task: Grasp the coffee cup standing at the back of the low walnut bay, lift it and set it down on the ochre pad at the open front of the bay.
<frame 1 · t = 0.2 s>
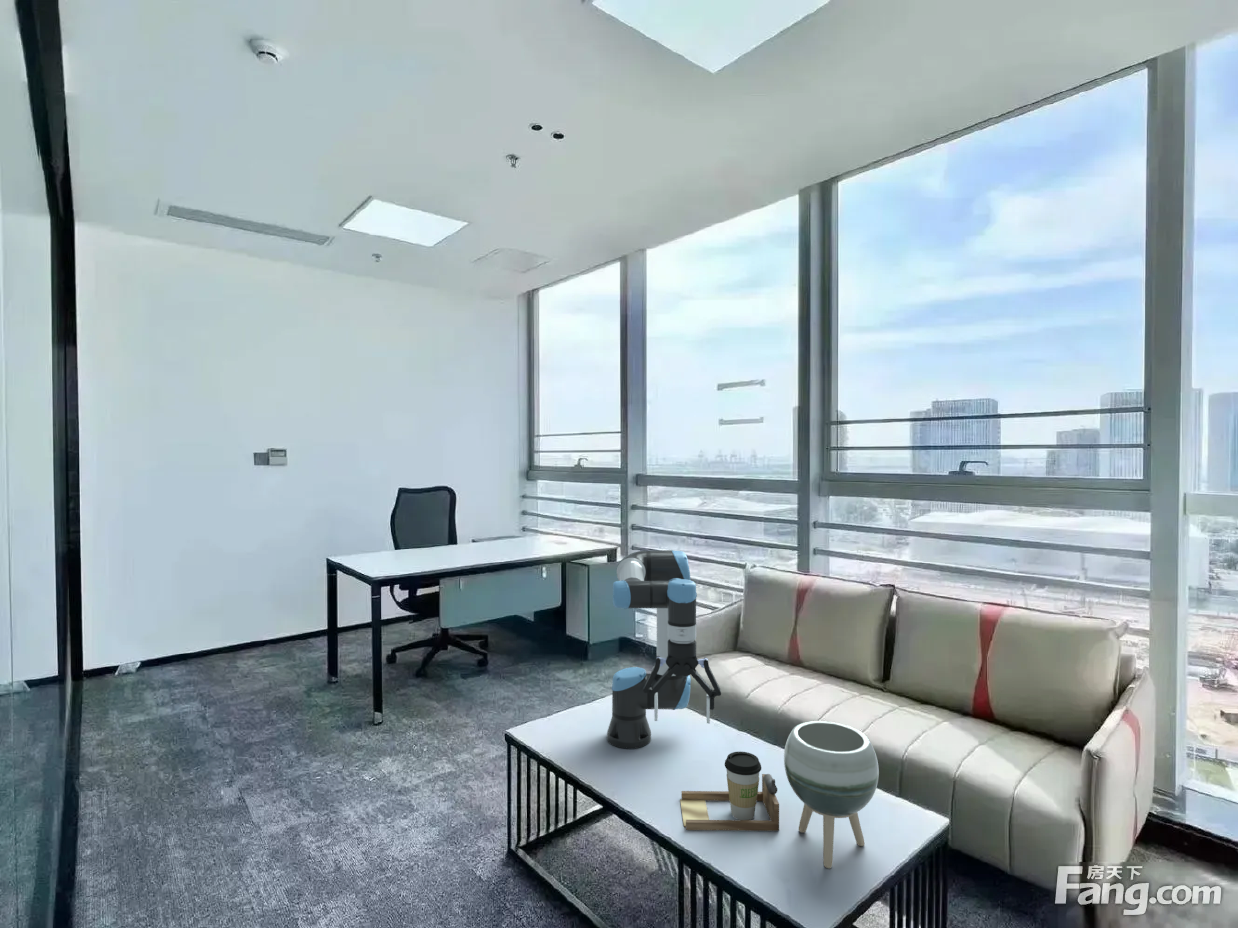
hand: (682, 720, 162), 28 cm above the table, fingers open, 13 cm apart
coffee cup: (742, 814, 167), resting in bay
bay: (728, 813, 167), on the table
planter: (829, 847, 153), on the table
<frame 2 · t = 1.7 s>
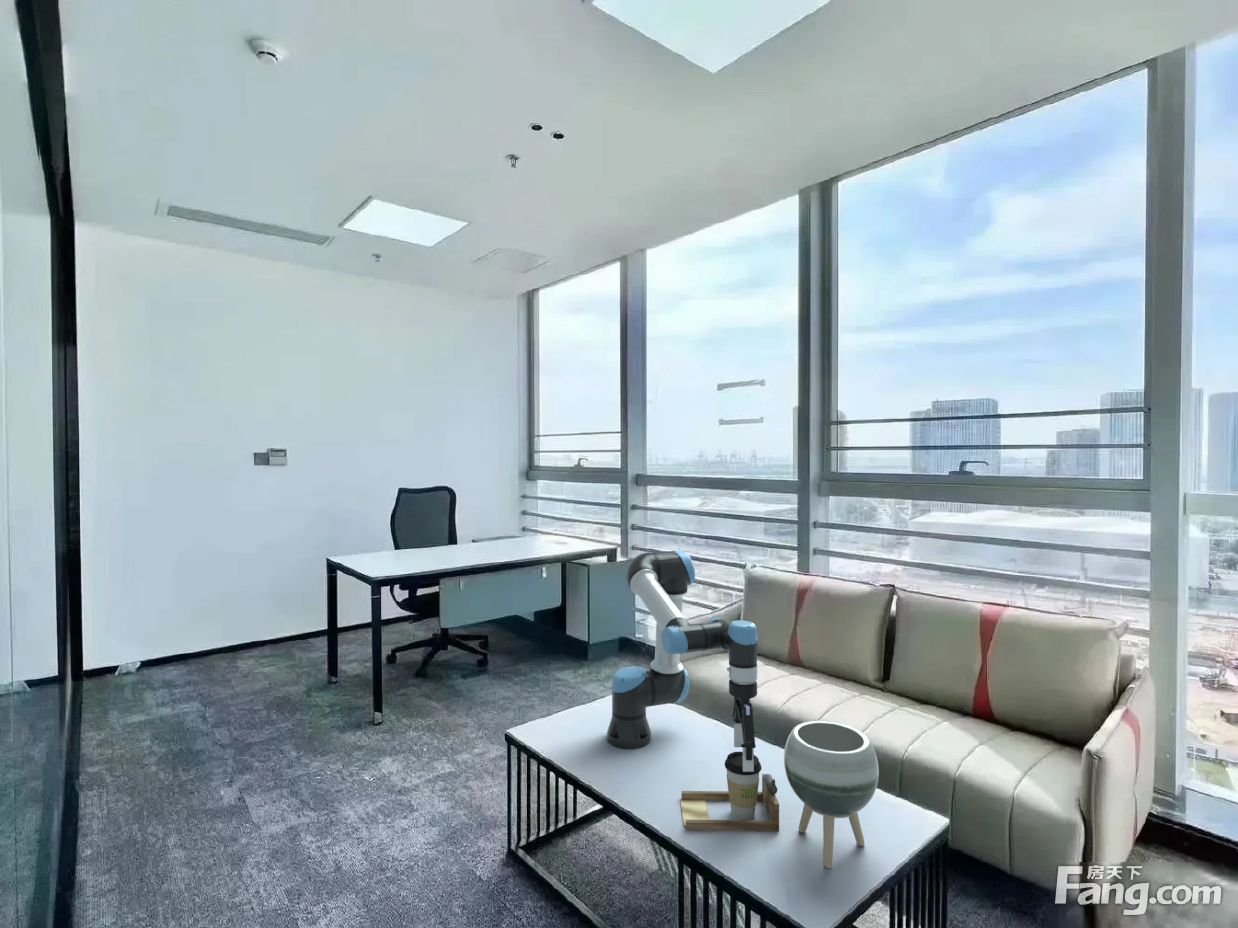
hand: (743, 758, 167), 15 cm above the table, fingers open, 13 cm apart
nothing on the table moved.
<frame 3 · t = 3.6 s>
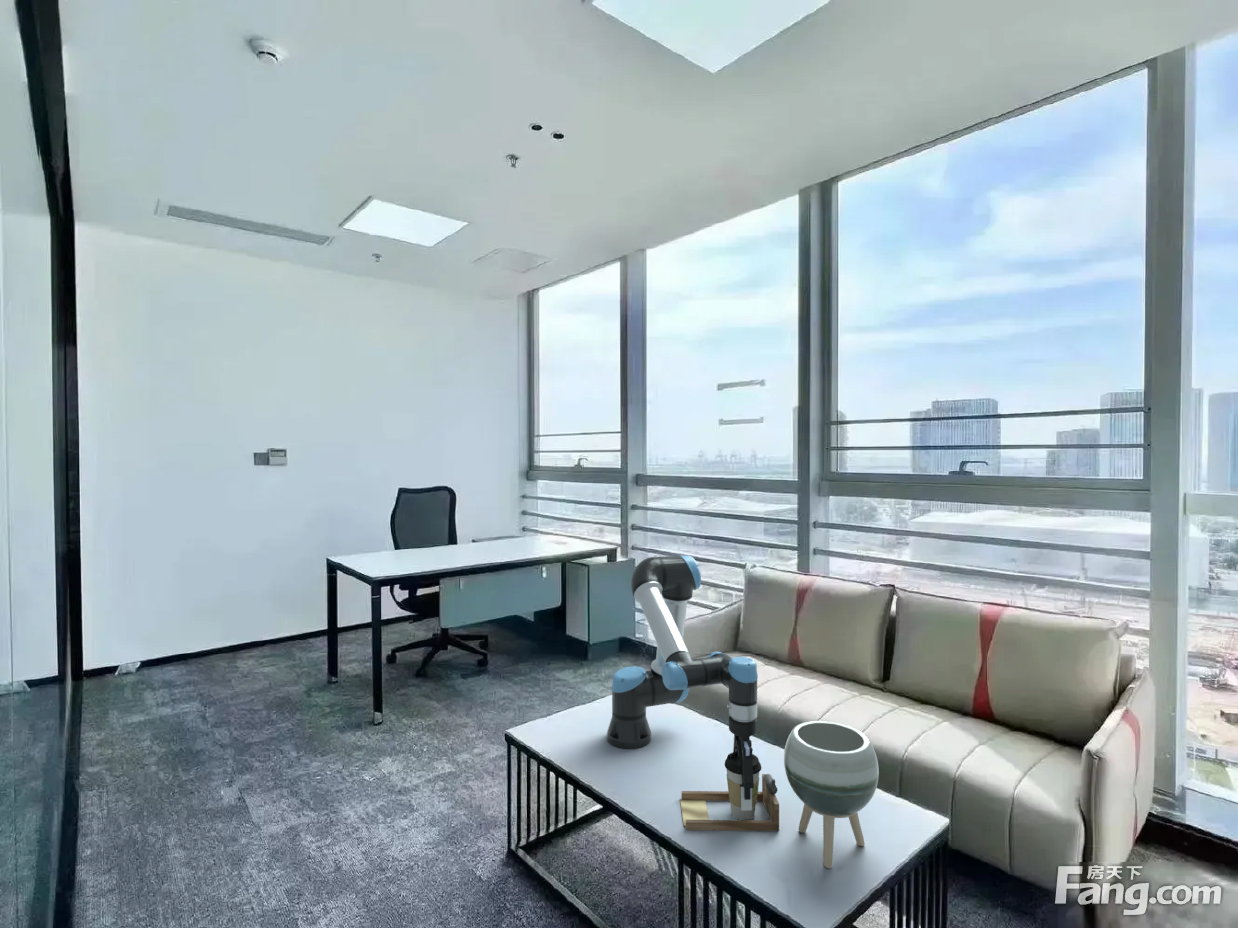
hand: (742, 798, 167), 4 cm above the table, fingers closed on coffee cup, 10 cm apart
coffee cup: (742, 814, 167), resting in bay, touching gripper
everything else where it was.
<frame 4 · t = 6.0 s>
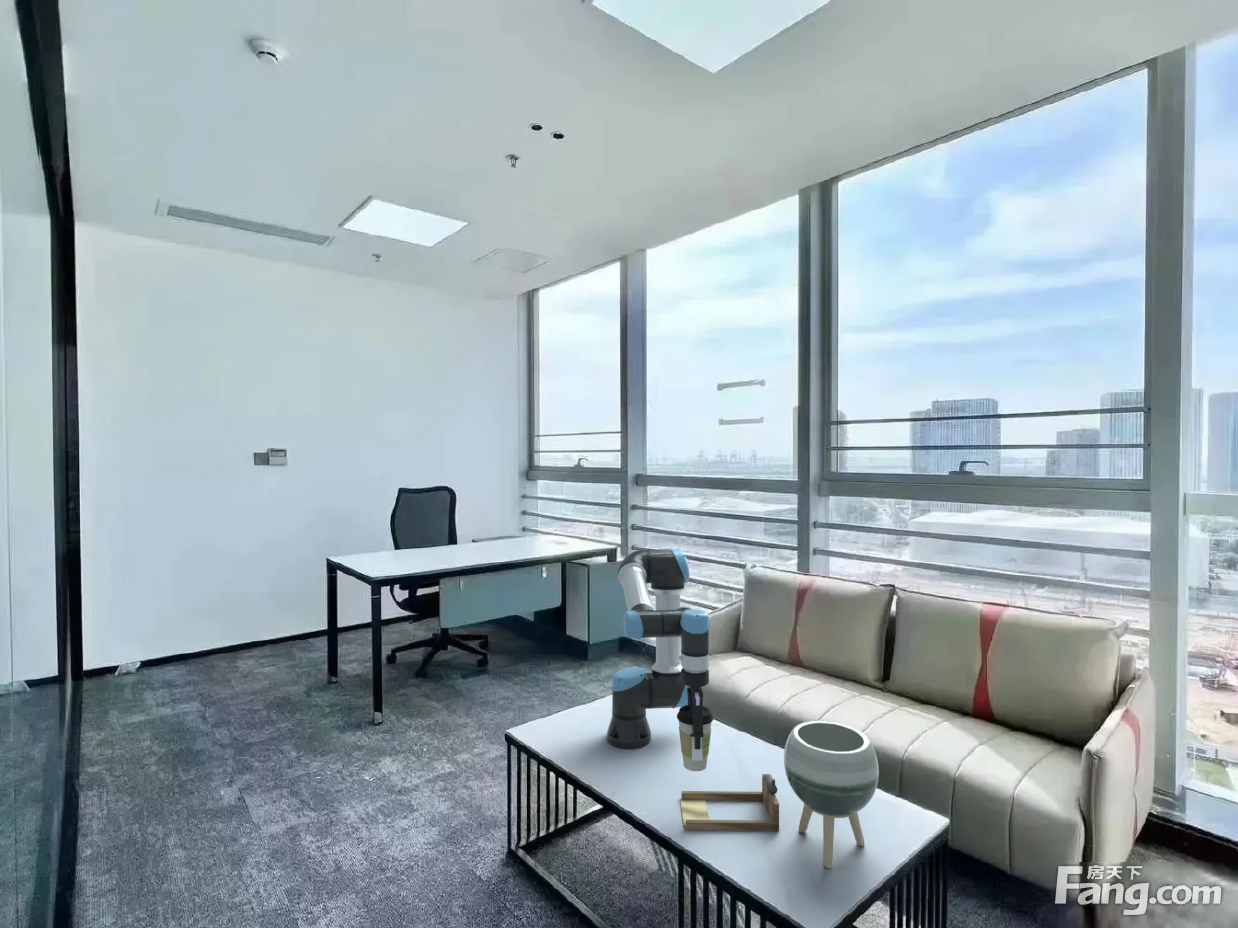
hand: (695, 750, 167), 17 cm above the table, fingers closed on coffee cup, 10 cm apart
coffee cup: (695, 766, 167), point 13 cm above the table, touching gripper
everything else where it was.
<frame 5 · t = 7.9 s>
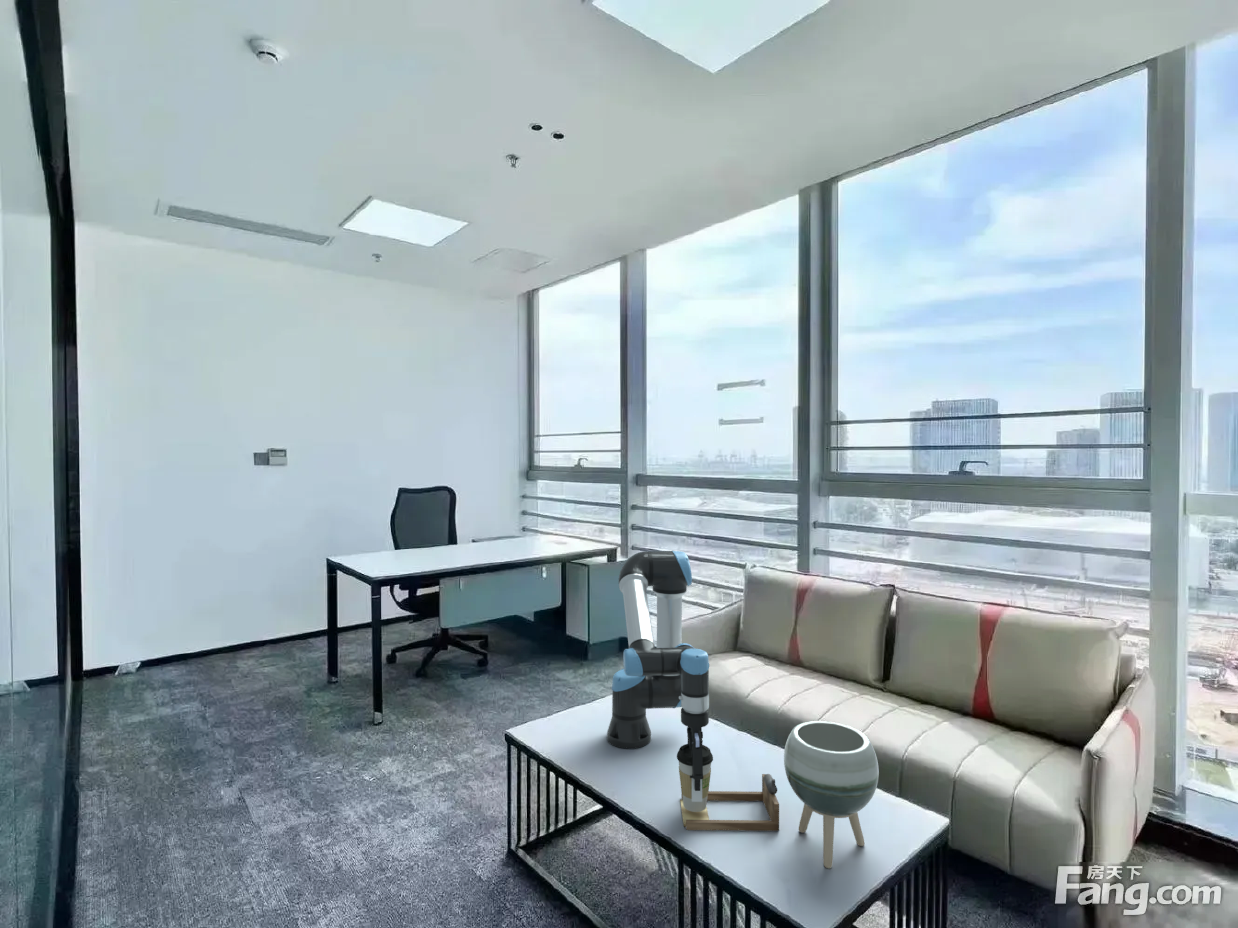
hand: (694, 789, 167), 6 cm above the table, fingers closed on coffee cup, 10 cm apart
coffee cup: (694, 805, 167), point 2 cm above the table, touching gripper
everything else where it was.
when the fingers open (6 cm above the table, at t = 8.9 s): coffee cup drops 2 cm, resting on bay.
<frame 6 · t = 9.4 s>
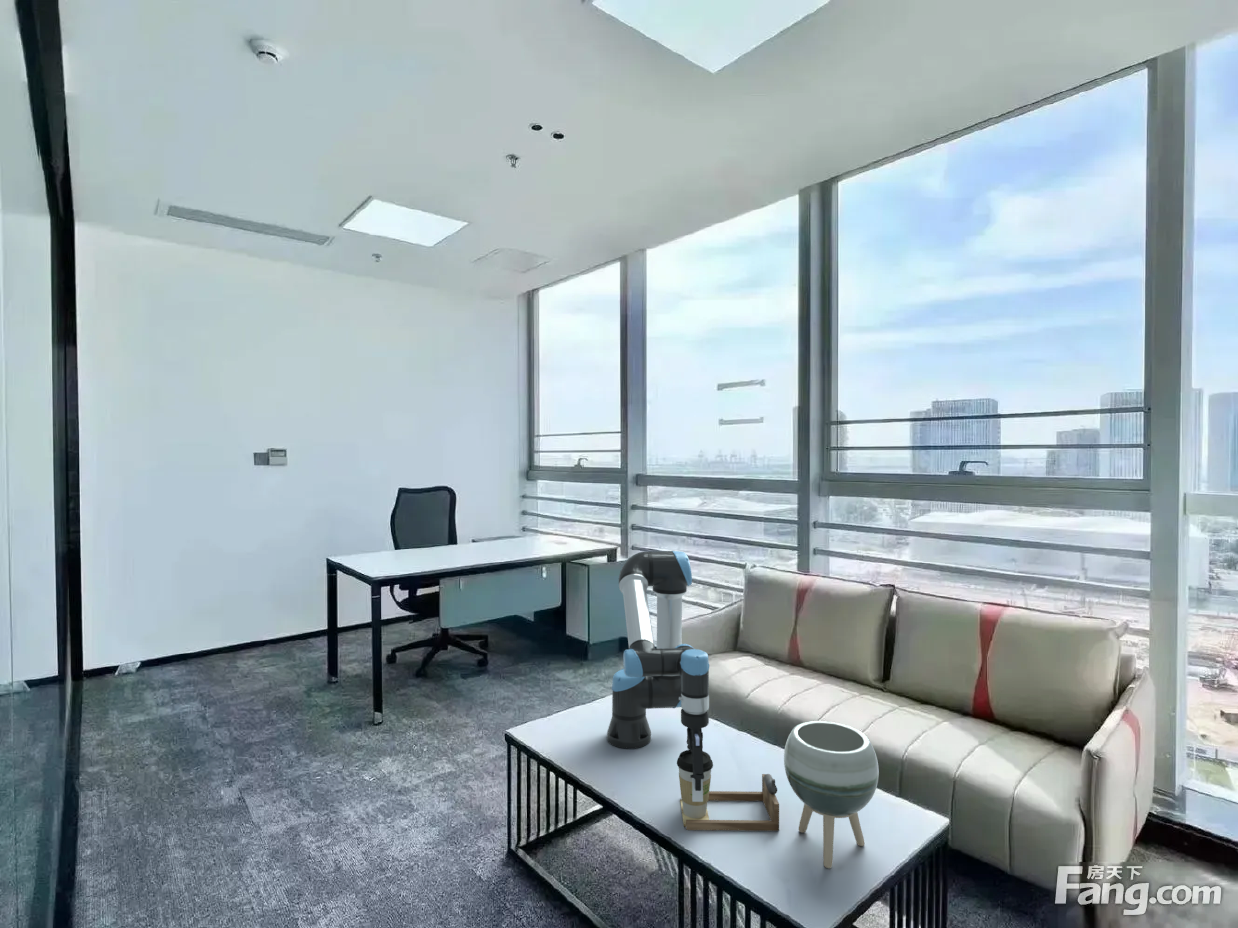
hand: (694, 786, 167), 7 cm above the table, fingers open, 13 cm apart
coffee cup: (694, 812, 168), resting on bay
everything else where it was.
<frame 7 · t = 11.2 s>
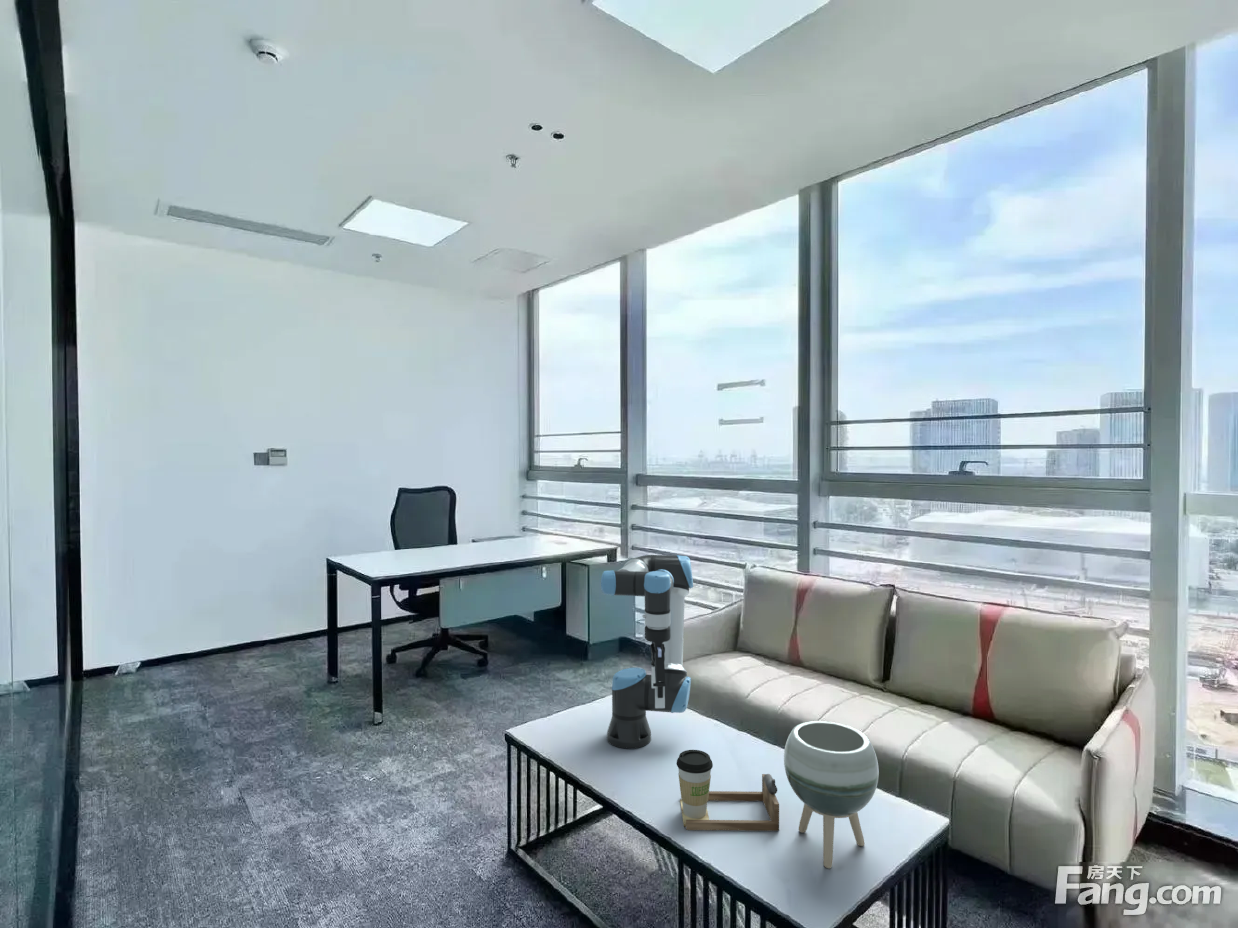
hand: (657, 697, 180), 27 cm above the table, fingers open, 13 cm apart
nothing on the table moved.
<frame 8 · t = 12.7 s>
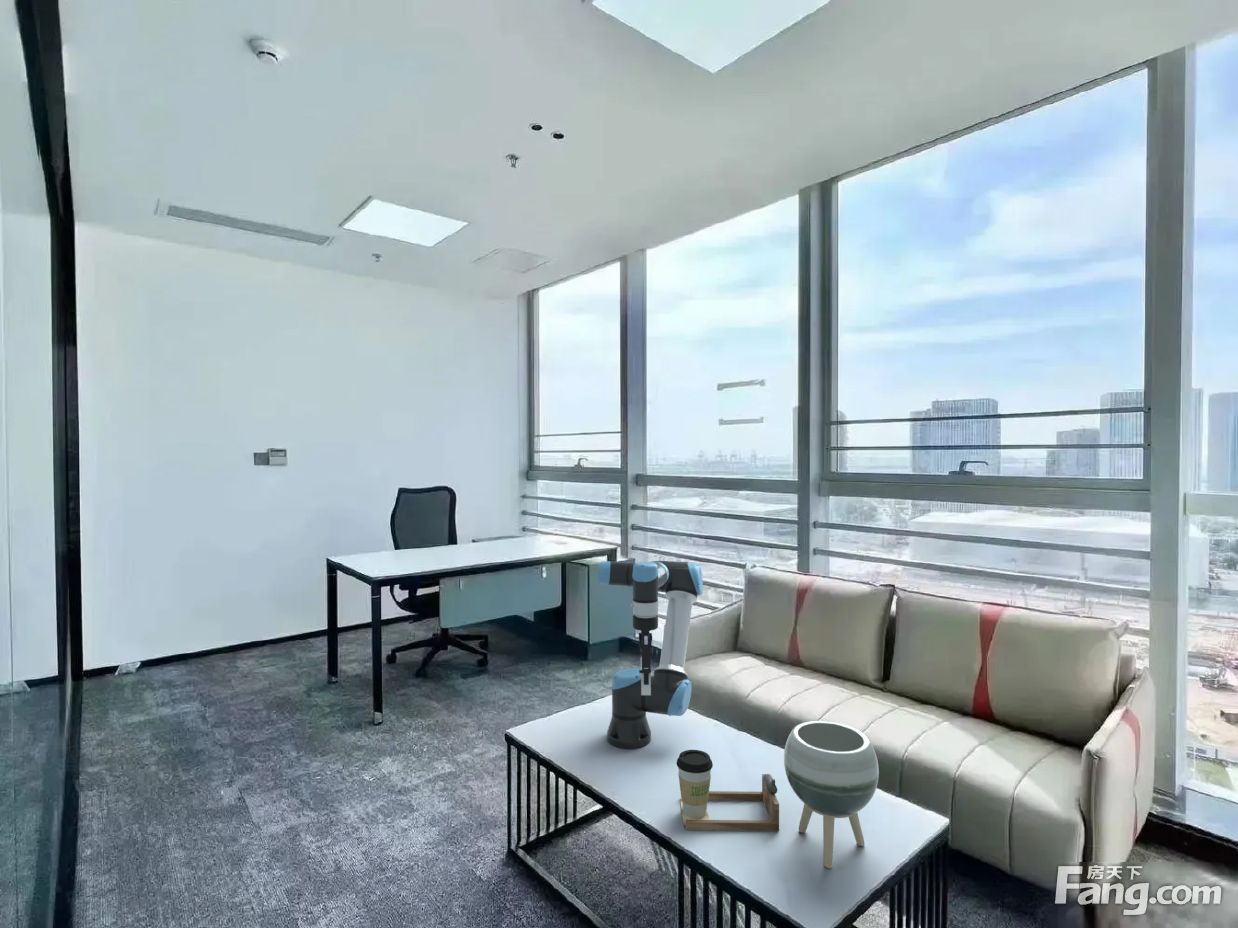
hand: (645, 685, 183), 29 cm above the table, fingers open, 13 cm apart
nothing on the table moved.
at the end: coffee cup inside the target area (0.3 cm from its centre), resting on bay; coffee cup tilted 0°; the gripper is holding nothing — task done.
